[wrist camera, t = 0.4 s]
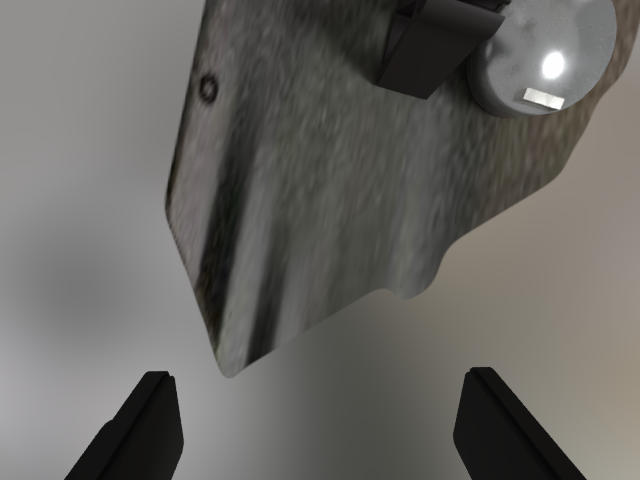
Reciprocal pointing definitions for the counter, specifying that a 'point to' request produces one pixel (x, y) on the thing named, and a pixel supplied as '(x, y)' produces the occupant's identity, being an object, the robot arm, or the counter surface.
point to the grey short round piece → (542, 56)
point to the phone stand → (434, 41)
